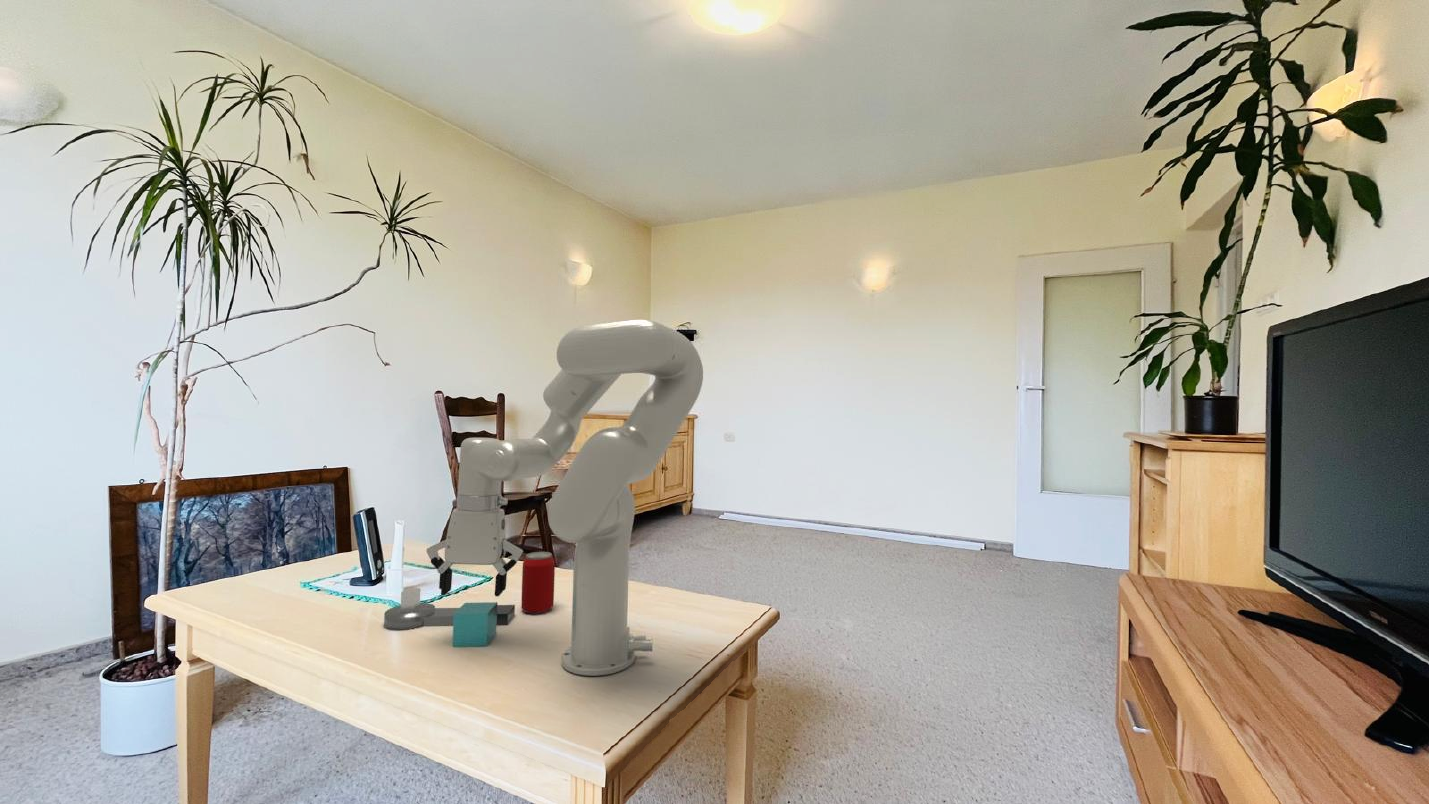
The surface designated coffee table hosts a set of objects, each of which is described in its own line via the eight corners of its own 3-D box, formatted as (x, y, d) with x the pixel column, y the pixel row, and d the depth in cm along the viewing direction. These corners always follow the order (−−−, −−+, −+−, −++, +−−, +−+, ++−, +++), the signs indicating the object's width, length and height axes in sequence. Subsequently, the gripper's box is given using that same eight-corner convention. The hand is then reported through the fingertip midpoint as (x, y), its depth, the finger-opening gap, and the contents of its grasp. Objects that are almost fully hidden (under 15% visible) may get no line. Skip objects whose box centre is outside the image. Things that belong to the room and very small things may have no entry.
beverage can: (558, 605, 122) (559, 551, 123) (546, 616, 116) (547, 559, 116) (529, 604, 123) (531, 550, 123) (515, 614, 116) (517, 557, 117)
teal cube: (496, 633, 106) (497, 602, 106) (486, 646, 100) (487, 613, 100) (464, 634, 105) (465, 602, 106) (452, 647, 99) (453, 613, 100)
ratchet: (516, 613, 117) (517, 582, 118) (505, 629, 109) (506, 596, 109) (396, 615, 115) (398, 583, 115) (374, 631, 106) (376, 597, 106)
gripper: (529, 501, 108) (524, 588, 108) (439, 497, 106) (432, 586, 106) (520, 508, 101) (514, 601, 100) (422, 504, 99) (415, 599, 99)
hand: (472, 593), depth 103 cm, fingers open, 9 cm apart
